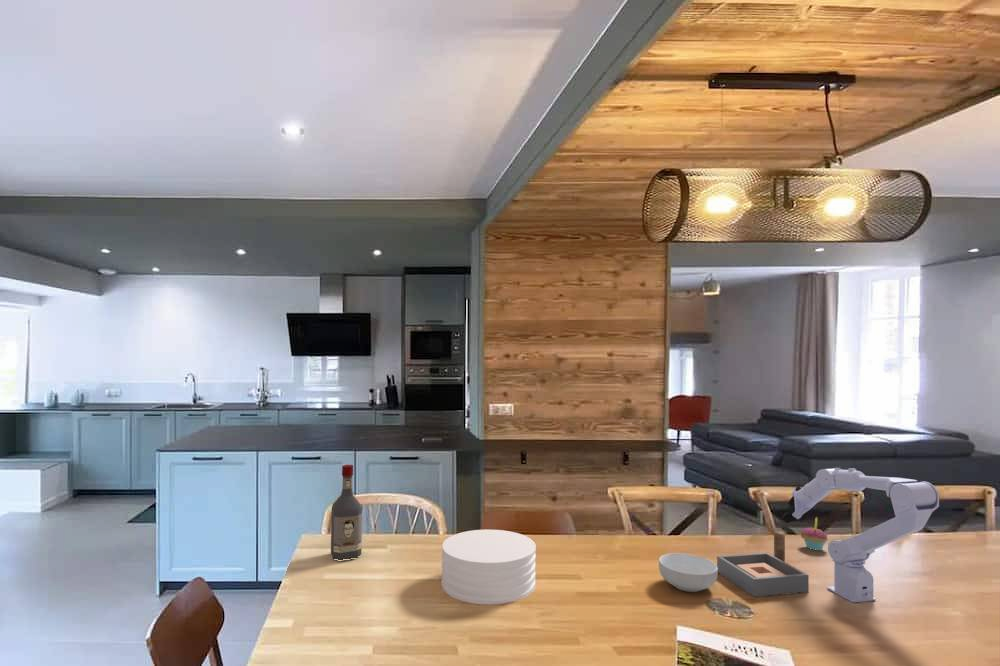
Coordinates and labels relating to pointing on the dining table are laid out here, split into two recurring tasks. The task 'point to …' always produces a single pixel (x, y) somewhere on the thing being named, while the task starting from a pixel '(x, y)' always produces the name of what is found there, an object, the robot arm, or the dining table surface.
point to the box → (762, 574)
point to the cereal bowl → (688, 571)
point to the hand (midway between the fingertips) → (787, 512)
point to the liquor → (346, 521)
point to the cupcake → (814, 537)
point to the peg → (779, 545)
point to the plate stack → (488, 566)
